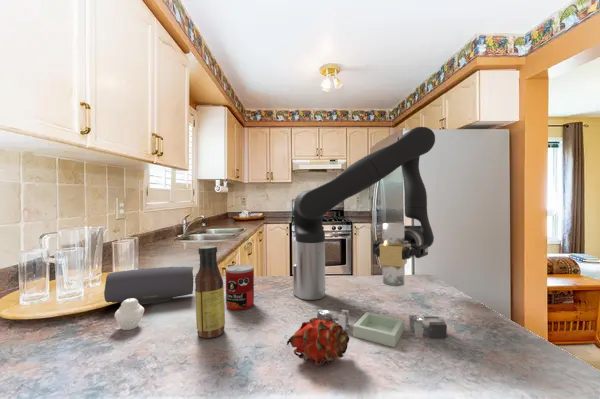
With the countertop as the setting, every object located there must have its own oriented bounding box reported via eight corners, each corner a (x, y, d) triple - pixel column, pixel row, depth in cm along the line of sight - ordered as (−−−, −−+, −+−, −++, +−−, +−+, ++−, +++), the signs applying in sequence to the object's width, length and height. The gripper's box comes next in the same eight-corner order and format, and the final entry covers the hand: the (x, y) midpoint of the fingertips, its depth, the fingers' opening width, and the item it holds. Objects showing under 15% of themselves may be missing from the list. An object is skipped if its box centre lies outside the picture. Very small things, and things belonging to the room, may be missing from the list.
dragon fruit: (355, 371, 54) (292, 378, 55) (347, 328, 61) (291, 335, 62) (353, 349, 49) (283, 357, 50) (344, 305, 56) (283, 313, 57)
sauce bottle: (230, 329, 68) (229, 245, 68) (214, 341, 62) (213, 249, 62) (207, 325, 70) (206, 243, 70) (189, 337, 64) (188, 248, 64)
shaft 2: (415, 338, 63) (415, 322, 63) (408, 329, 68) (408, 314, 68) (448, 338, 63) (448, 323, 63) (439, 329, 68) (439, 314, 68)
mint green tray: (353, 336, 64) (353, 325, 64) (366, 321, 72) (366, 311, 72) (394, 347, 60) (394, 335, 60) (404, 330, 67) (404, 319, 67)
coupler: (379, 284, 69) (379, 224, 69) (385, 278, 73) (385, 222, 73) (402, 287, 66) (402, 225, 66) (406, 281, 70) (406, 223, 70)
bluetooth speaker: (193, 292, 95) (193, 262, 95) (192, 302, 86) (192, 268, 86) (113, 300, 88) (113, 267, 88) (103, 312, 79) (103, 275, 79)
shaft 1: (349, 324, 71) (349, 310, 71) (344, 331, 67) (344, 317, 67) (321, 319, 73) (321, 306, 73) (315, 326, 69) (315, 312, 69)
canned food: (220, 308, 81) (220, 269, 81) (236, 299, 88) (236, 263, 88) (243, 312, 78) (243, 272, 78) (258, 302, 85) (258, 265, 85)
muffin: (140, 319, 74) (139, 292, 74) (147, 327, 69) (147, 298, 69) (111, 327, 69) (111, 298, 69) (118, 335, 65) (117, 304, 65)
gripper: (380, 228, 85) (360, 235, 71) (433, 231, 78) (423, 240, 63) (380, 254, 85) (360, 266, 71) (433, 259, 78) (423, 274, 64)
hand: (390, 253), depth 67 cm, fingers closed on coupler, 5 cm apart
